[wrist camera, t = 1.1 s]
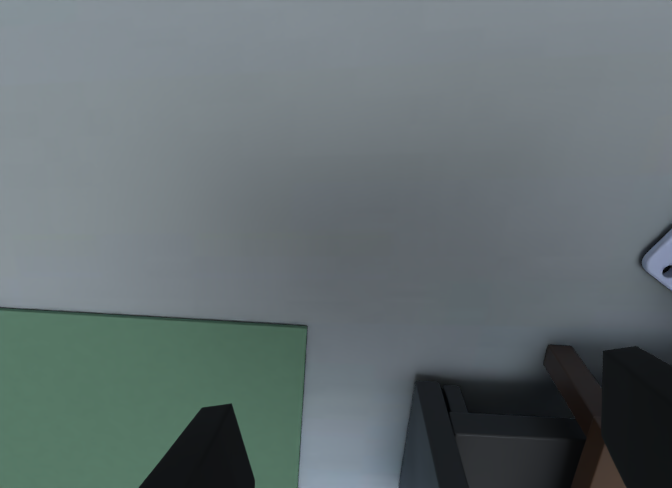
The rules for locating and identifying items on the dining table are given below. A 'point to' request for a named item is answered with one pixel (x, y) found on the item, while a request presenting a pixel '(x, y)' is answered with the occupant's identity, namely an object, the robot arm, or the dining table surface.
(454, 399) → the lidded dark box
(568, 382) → the table
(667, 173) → the dining table surface
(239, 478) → the robot arm
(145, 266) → the dining table surface
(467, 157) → the dining table surface
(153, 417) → the mat
